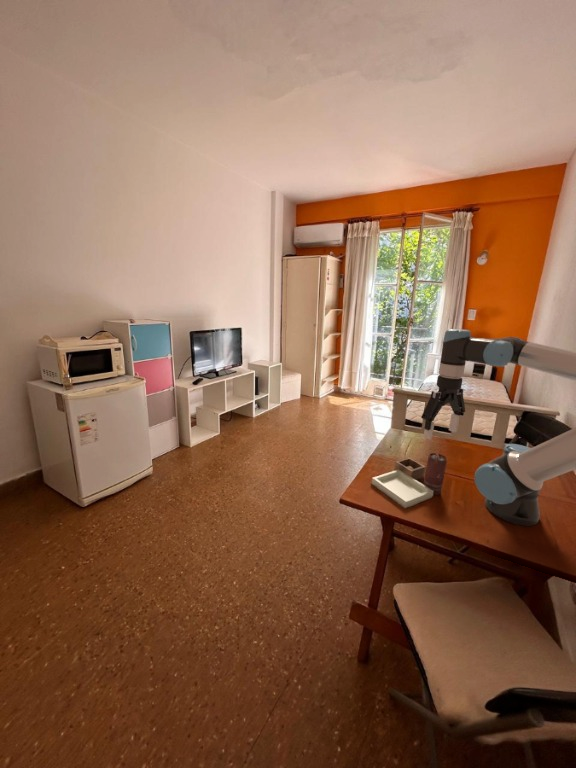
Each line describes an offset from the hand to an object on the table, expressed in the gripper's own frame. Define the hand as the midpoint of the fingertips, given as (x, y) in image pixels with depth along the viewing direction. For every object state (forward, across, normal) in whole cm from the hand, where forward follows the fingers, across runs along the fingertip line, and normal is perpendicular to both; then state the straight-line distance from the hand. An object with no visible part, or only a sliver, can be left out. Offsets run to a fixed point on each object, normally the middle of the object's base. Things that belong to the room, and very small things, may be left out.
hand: (440, 434), depth 111 cm
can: (+23, 0, 0) cm, 23 cm away
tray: (+22, +10, -5) cm, 25 cm away
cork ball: (+22, -1, -11) cm, 24 cm away
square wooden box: (+22, -1, -11) cm, 25 cm away
